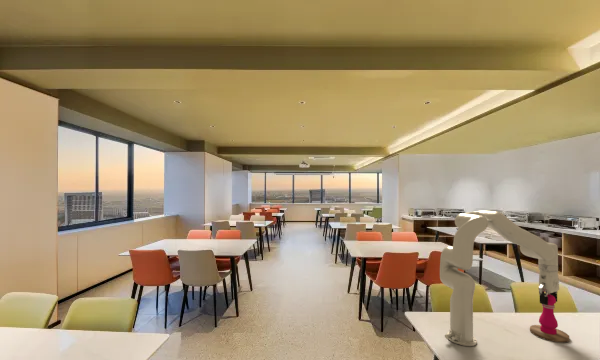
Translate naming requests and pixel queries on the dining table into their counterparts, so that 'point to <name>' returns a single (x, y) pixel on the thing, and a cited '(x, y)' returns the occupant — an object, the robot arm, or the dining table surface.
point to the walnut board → (558, 337)
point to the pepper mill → (548, 317)
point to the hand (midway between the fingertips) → (548, 302)
